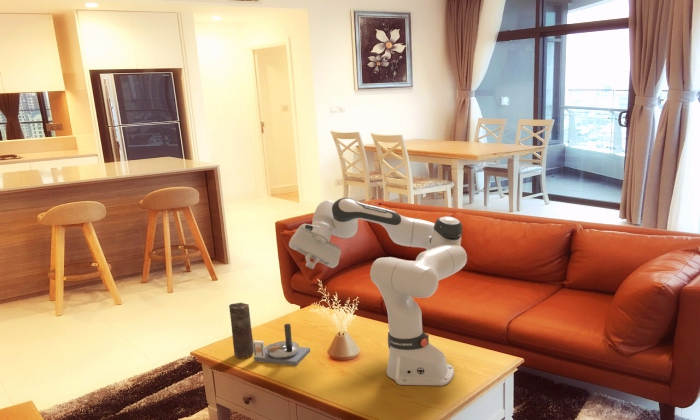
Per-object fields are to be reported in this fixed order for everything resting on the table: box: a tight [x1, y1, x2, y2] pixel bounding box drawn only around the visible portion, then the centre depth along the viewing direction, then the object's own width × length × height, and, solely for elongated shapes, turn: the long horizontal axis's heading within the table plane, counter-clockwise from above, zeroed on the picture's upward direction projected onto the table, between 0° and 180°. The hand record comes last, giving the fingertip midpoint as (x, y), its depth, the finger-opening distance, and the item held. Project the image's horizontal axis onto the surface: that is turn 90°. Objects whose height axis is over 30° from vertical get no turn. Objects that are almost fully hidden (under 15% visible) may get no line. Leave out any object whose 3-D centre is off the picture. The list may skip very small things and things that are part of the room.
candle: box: [228, 302, 254, 360], centre depth 213 cm, size 8×7×20 cm
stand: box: [253, 340, 311, 367], centre depth 210 cm, size 17×13×8 cm
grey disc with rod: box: [267, 323, 300, 359], centre depth 210 cm, size 12×12×12 cm
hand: (309, 266), depth 211 cm, fingers closed
